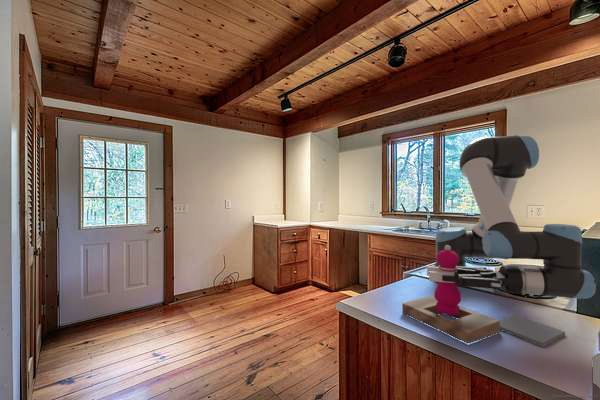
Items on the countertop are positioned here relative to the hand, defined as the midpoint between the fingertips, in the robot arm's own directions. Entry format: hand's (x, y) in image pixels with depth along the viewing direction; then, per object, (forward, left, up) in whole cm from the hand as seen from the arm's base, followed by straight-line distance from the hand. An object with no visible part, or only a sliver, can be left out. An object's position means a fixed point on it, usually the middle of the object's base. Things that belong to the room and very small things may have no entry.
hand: (428, 273), depth 87 cm
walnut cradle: (+3, +4, -15) cm, 16 cm away
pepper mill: (+4, +4, -11) cm, 12 cm away
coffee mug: (+1, +52, -15) cm, 54 cm away
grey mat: (+17, +19, -15) cm, 30 cm away
